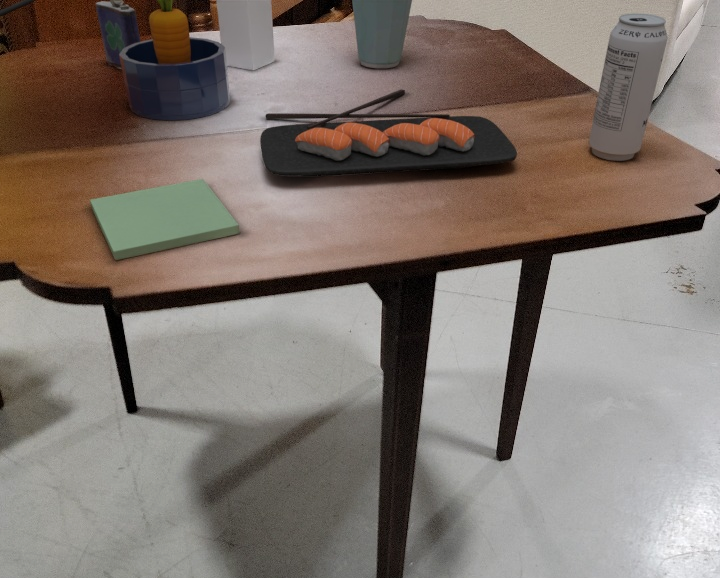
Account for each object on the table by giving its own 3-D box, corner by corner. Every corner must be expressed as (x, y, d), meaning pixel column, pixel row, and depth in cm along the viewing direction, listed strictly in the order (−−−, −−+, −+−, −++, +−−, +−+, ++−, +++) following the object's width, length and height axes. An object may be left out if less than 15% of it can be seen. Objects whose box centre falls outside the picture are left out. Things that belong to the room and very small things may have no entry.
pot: (120, 95, 104) (110, 43, 100) (213, 82, 109) (207, 32, 104) (142, 126, 94) (132, 70, 90) (243, 111, 99) (238, 57, 95)
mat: (91, 208, 76) (89, 199, 75) (204, 186, 80) (203, 178, 79) (115, 260, 67) (113, 251, 67) (240, 233, 71) (239, 224, 71)
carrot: (196, 104, 99) (180, -18, 90) (159, 105, 99) (139, -18, 90) (199, 92, 103) (184, -26, 94) (164, 93, 103) (145, -25, 94)
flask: (103, 63, 116) (89, -11, 110) (120, 59, 118) (106, -14, 111) (135, 75, 111) (122, -1, 105) (152, 71, 113) (140, -4, 106)
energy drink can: (648, 160, 86) (683, 24, 77) (600, 164, 85) (630, 26, 76) (623, 141, 91) (653, 11, 82) (578, 145, 90) (603, 13, 81)
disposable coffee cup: (333, 64, 116) (331, -42, 107) (376, 50, 123) (378, -51, 114) (385, 77, 111) (388, -33, 102) (427, 62, 118) (433, -43, 108)
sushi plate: (266, 191, 79) (263, 157, 77) (254, 100, 102) (251, 72, 100) (523, 174, 83) (528, 142, 80) (455, 90, 106) (457, 63, 104)
